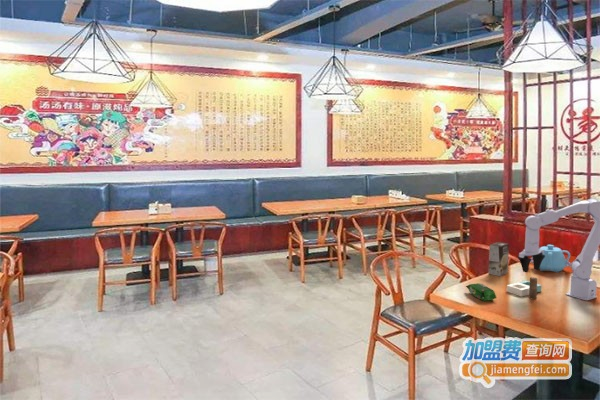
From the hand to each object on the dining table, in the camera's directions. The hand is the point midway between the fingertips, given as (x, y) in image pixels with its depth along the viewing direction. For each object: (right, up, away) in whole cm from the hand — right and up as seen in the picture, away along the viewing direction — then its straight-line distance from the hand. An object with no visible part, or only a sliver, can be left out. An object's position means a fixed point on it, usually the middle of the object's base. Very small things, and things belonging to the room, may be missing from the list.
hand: (530, 270), depth 208 cm
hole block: (-2, -10, +2) cm, 11 cm away
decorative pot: (+28, -5, +35) cm, 46 cm away
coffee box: (-1, -7, +31) cm, 32 cm away
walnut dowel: (-2, -11, -6) cm, 13 cm away
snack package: (-24, -12, -3) cm, 27 cm away
